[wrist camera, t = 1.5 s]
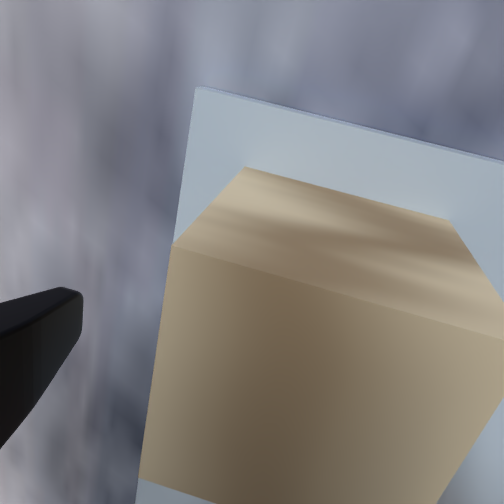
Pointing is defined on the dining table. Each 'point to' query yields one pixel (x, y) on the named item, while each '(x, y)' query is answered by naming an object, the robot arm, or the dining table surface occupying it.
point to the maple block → (319, 351)
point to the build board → (363, 185)
